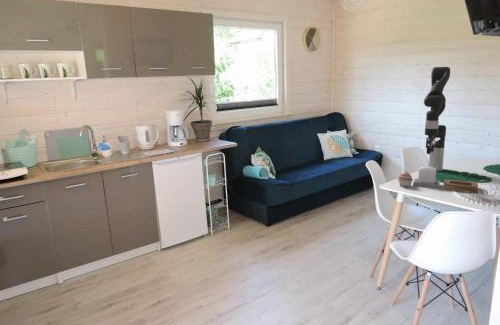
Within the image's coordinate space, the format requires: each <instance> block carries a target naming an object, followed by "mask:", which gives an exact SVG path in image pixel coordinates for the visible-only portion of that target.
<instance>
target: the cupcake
mask: <svg viewBox="0 0 500 325" xmlns="http://www.w3.org/2000/svg"><path fill="white" fill-rule="evenodd" d="M413 179H414V178H412V175H411V174H410V173H409V172H408V171H406V170H404V172H402V173H400V174H399V175H398V177H397V180H398V183H399V186H400V187H403V188H410V186H411V185H412V182H413V181H414V180H413Z"/></svg>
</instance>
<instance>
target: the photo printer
mask: <svg viewBox="0 0 500 325" xmlns="http://www.w3.org/2000/svg"><path fill="white" fill-rule="evenodd" d="M417 175H418V176H417V179H418V182H424V183H435V181H437V179H436V178H437V171H436V169H435V168H433V167H429V166H421V167H419V168H418V174H417Z"/></svg>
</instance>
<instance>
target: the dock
mask: <svg viewBox="0 0 500 325" xmlns="http://www.w3.org/2000/svg"><path fill="white" fill-rule="evenodd" d="M442 187H443V188H442V190H443V191H444V190H445V191H454V192H462V191H468V192H467V193H471V192H476V193H475V194H478V189H479V183H478V182H476V181H468V180H467V181H465V180H455V179H444V182H443V186H442Z"/></svg>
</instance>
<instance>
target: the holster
mask: <svg viewBox="0 0 500 325" xmlns="http://www.w3.org/2000/svg"><path fill="white" fill-rule="evenodd" d="M412 182H413V183H412V186H414V187H423V188H432V189H439V188H440V183H441V182H440V180H435V183H424V182H418V178H414V180H413V181H412Z"/></svg>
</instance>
